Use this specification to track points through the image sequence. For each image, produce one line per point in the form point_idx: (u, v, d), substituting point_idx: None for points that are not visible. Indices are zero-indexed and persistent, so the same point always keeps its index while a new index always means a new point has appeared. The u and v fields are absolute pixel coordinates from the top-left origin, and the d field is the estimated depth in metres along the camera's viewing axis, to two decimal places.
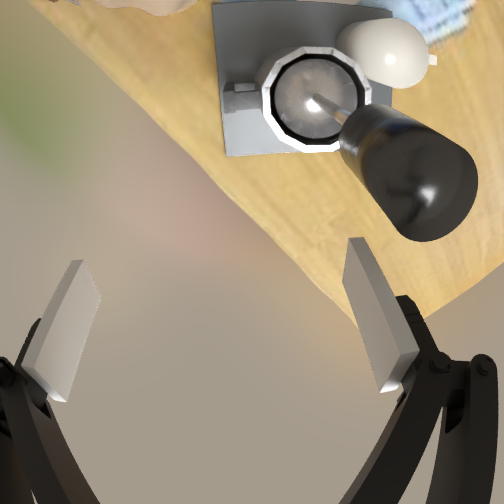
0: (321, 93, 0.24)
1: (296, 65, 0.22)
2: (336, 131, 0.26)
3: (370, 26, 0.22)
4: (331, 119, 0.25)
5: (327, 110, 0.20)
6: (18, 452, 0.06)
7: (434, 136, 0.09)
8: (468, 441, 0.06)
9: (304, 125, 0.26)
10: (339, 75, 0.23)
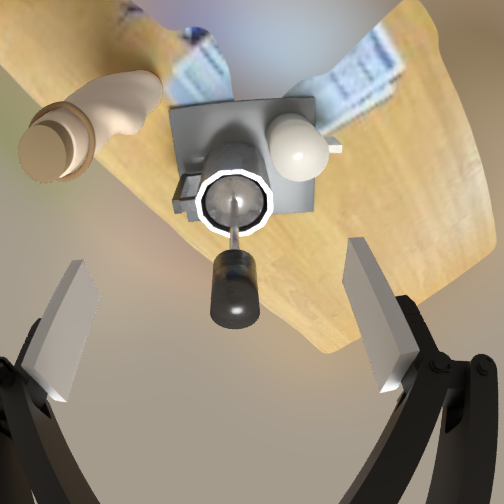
0: (236, 199, 0.40)
1: (217, 182, 0.38)
2: (250, 221, 0.42)
3: (277, 137, 0.38)
4: (245, 214, 0.41)
5: (230, 224, 0.36)
6: (18, 452, 0.06)
7: (229, 291, 0.24)
8: (468, 441, 0.06)
9: (227, 219, 0.41)
10: (248, 185, 0.39)
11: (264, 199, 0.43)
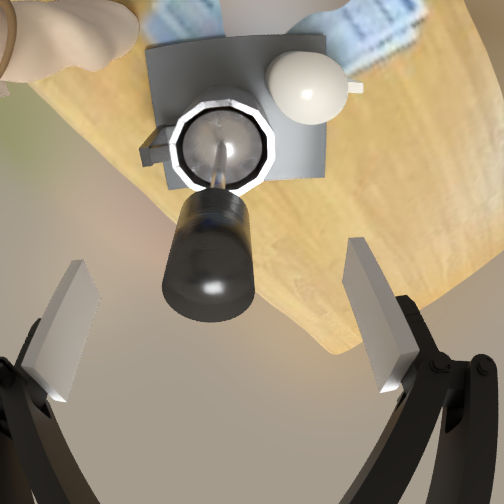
0: (225, 143, 0.28)
1: (199, 119, 0.26)
2: (243, 176, 0.30)
3: (280, 65, 0.26)
4: (237, 166, 0.29)
5: None
6: (18, 452, 0.06)
7: (196, 247, 0.13)
8: (468, 441, 0.06)
9: (212, 173, 0.30)
10: (241, 124, 0.27)
11: (263, 149, 0.31)
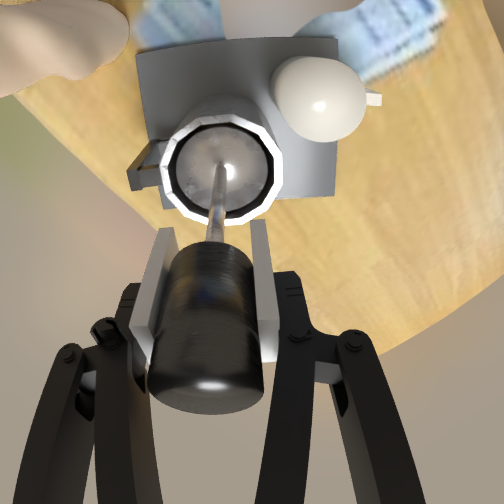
0: (225, 165, 0.24)
1: (194, 138, 0.23)
2: (246, 202, 0.26)
3: (289, 72, 0.22)
4: (239, 191, 0.26)
5: None
6: (96, 424, 0.08)
7: (187, 346, 0.09)
8: (362, 424, 0.07)
9: (210, 199, 0.26)
10: (244, 143, 0.23)
11: (268, 170, 0.28)
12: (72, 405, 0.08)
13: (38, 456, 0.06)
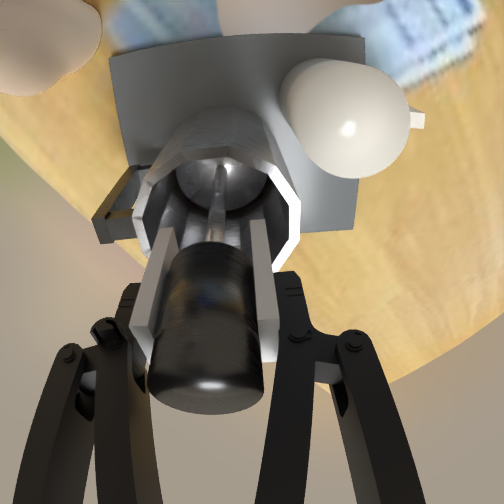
0: (225, 165, 0.24)
1: None
2: (246, 202, 0.26)
3: (311, 83, 0.16)
4: (239, 191, 0.26)
5: None
6: (96, 424, 0.08)
7: (187, 346, 0.09)
8: (362, 424, 0.07)
9: (210, 199, 0.26)
10: None
11: (279, 213, 0.22)
12: (72, 405, 0.08)
13: (38, 456, 0.06)
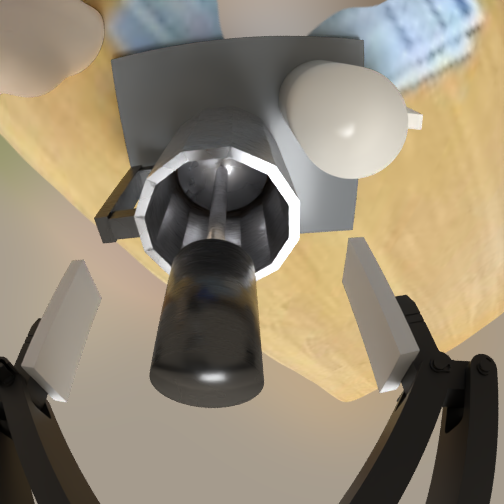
0: (225, 165, 0.25)
1: None
2: (246, 202, 0.27)
3: (310, 85, 0.16)
4: (239, 191, 0.26)
5: None
6: (18, 452, 0.06)
7: (189, 338, 0.09)
8: (468, 441, 0.06)
9: (211, 199, 0.27)
10: None
11: (279, 213, 0.22)
12: None
13: None
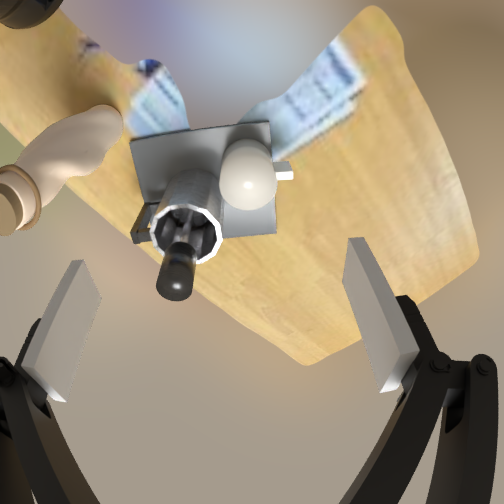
0: None
1: None
2: (206, 221, 0.50)
3: (224, 169, 0.39)
4: (202, 215, 0.49)
5: (185, 222, 0.44)
6: (18, 452, 0.06)
7: (168, 271, 0.33)
8: (468, 441, 0.06)
9: None
10: None
11: None
12: None
13: None
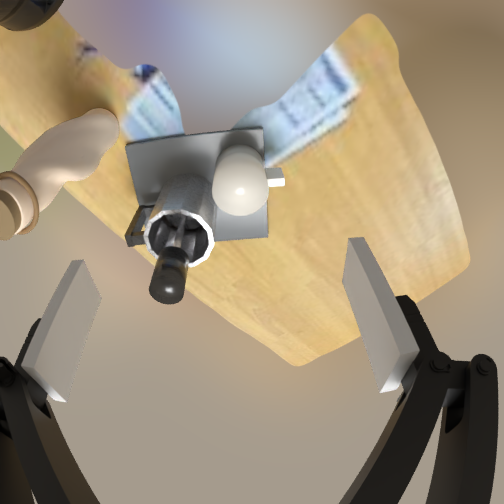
0: None
1: None
2: (199, 224, 0.51)
3: (217, 175, 0.40)
4: (195, 219, 0.50)
5: (178, 226, 0.45)
6: (18, 452, 0.06)
7: (161, 275, 0.33)
8: (468, 441, 0.06)
9: None
10: None
11: None
12: None
13: None
